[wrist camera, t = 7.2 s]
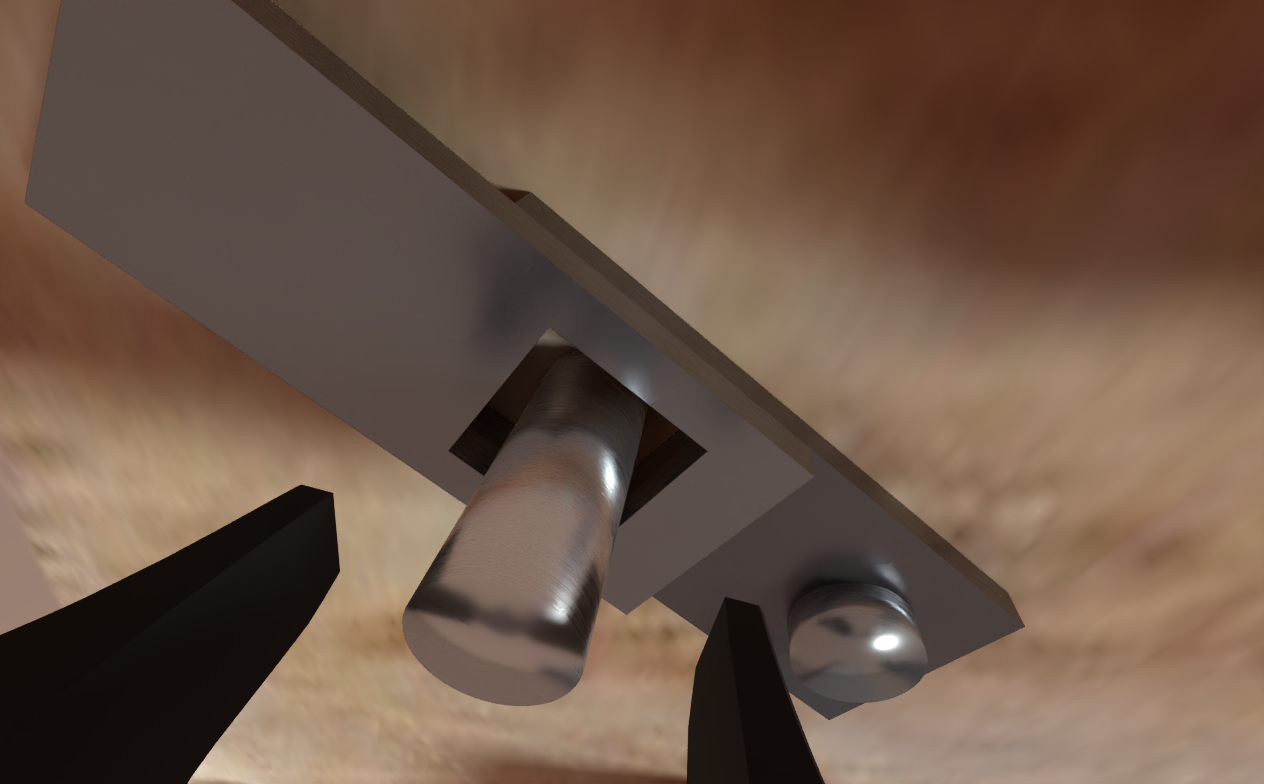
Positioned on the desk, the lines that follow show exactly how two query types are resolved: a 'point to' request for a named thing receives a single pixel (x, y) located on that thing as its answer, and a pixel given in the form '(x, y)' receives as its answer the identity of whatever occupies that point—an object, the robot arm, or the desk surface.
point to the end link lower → (816, 552)
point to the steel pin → (533, 545)
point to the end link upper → (367, 259)
